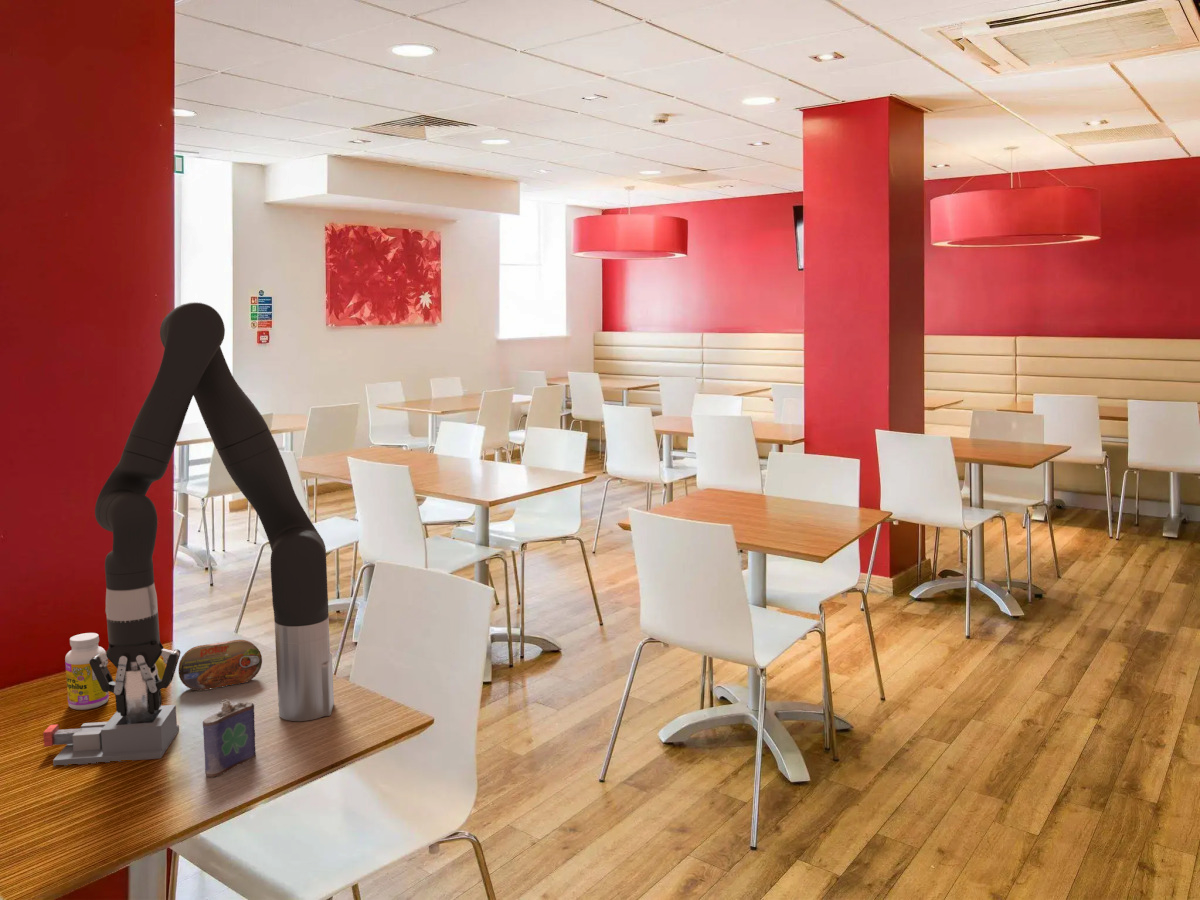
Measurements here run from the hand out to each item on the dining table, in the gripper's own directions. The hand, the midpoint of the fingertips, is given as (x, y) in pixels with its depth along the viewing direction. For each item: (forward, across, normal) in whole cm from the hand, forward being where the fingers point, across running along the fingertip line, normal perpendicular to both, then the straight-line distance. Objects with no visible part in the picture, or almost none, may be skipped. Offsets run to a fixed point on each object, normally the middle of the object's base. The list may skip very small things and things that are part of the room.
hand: (139, 712), depth 159 cm
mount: (+6, +3, 0) cm, 7 cm away
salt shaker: (+2, 0, 0) cm, 2 cm away
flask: (+6, -16, +10) cm, 20 cm away
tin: (+6, -7, -27) cm, 29 cm away
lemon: (+6, +5, -24) cm, 25 cm away
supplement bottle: (+6, +15, -21) cm, 26 cm away
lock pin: (+4, +10, 0) cm, 10 cm away
